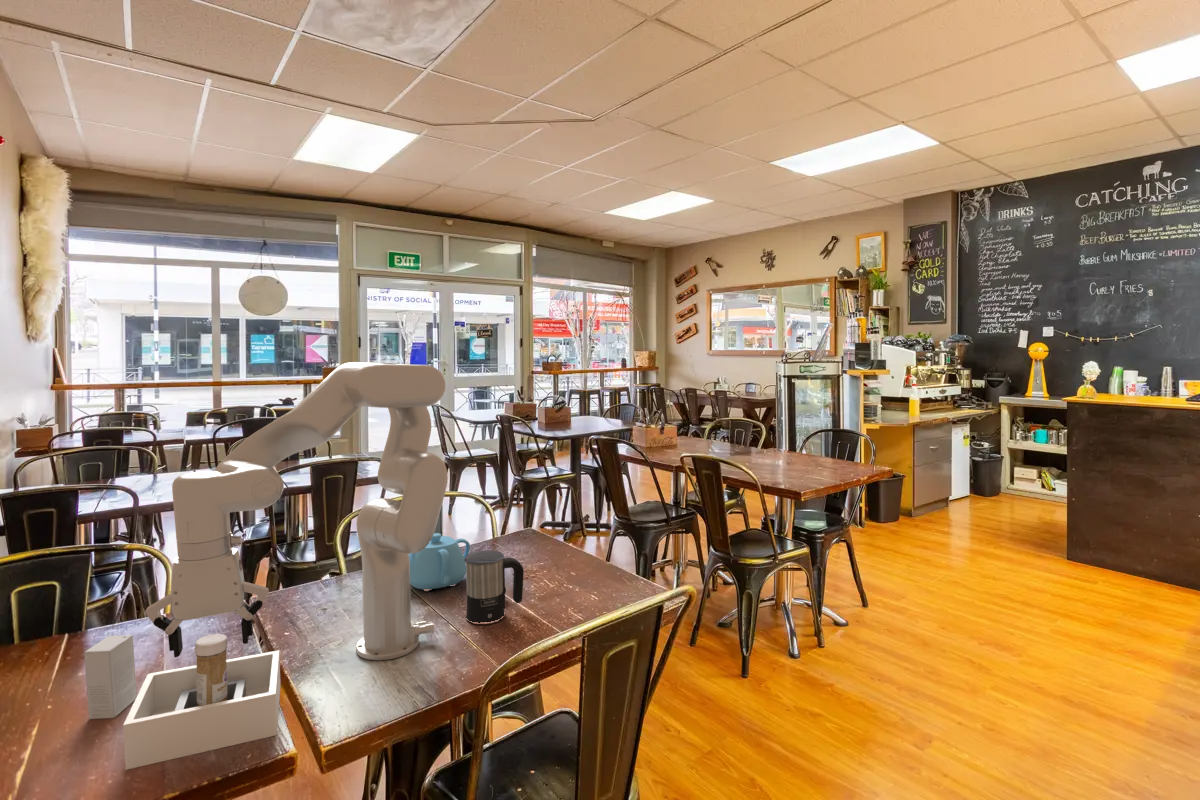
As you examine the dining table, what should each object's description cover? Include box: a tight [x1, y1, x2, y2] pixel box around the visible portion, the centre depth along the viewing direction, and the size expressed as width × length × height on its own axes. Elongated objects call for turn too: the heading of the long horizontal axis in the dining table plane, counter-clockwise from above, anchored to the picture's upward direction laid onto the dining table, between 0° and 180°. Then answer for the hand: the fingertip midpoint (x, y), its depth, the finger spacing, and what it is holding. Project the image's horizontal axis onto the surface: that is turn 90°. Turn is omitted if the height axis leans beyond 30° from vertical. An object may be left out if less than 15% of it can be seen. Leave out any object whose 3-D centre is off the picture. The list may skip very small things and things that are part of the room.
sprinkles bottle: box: [194, 633, 228, 706], centre depth 103 cm, size 5×5×13 cm
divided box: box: [122, 650, 281, 771], centre depth 103 cm, size 20×16×7 cm
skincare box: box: [83, 634, 138, 720], centre depth 107 cm, size 6×4×12 cm
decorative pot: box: [409, 532, 471, 590], centre depth 166 cm, size 16×16×14 cm
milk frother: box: [464, 549, 525, 623], centre depth 149 cm, size 14×16×15 cm
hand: (213, 646), depth 103 cm, fingers open, 9 cm apart
